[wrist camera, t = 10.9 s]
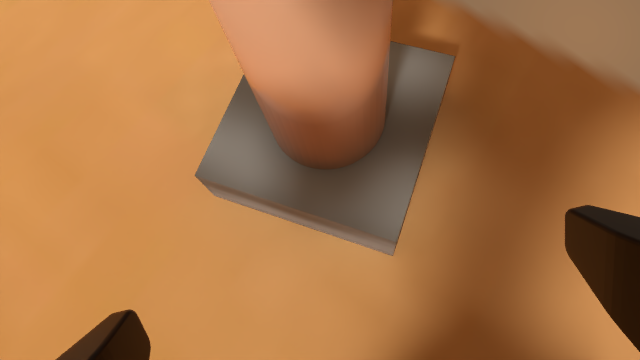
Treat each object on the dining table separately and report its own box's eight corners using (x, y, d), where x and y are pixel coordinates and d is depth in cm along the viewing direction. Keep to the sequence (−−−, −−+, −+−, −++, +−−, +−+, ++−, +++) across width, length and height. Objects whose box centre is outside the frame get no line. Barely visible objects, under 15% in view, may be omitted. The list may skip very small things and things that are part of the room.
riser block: (392, 255, 22) (396, 242, 19) (214, 195, 24) (194, 175, 21) (445, 88, 25) (455, 56, 22) (282, 48, 27) (273, 13, 24)
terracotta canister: (340, 191, 20) (294, -29, 8) (248, 130, 22) (97, -130, 10) (408, 101, 22) (454, -208, 9) (316, 49, 23) (255, -273, 11)
